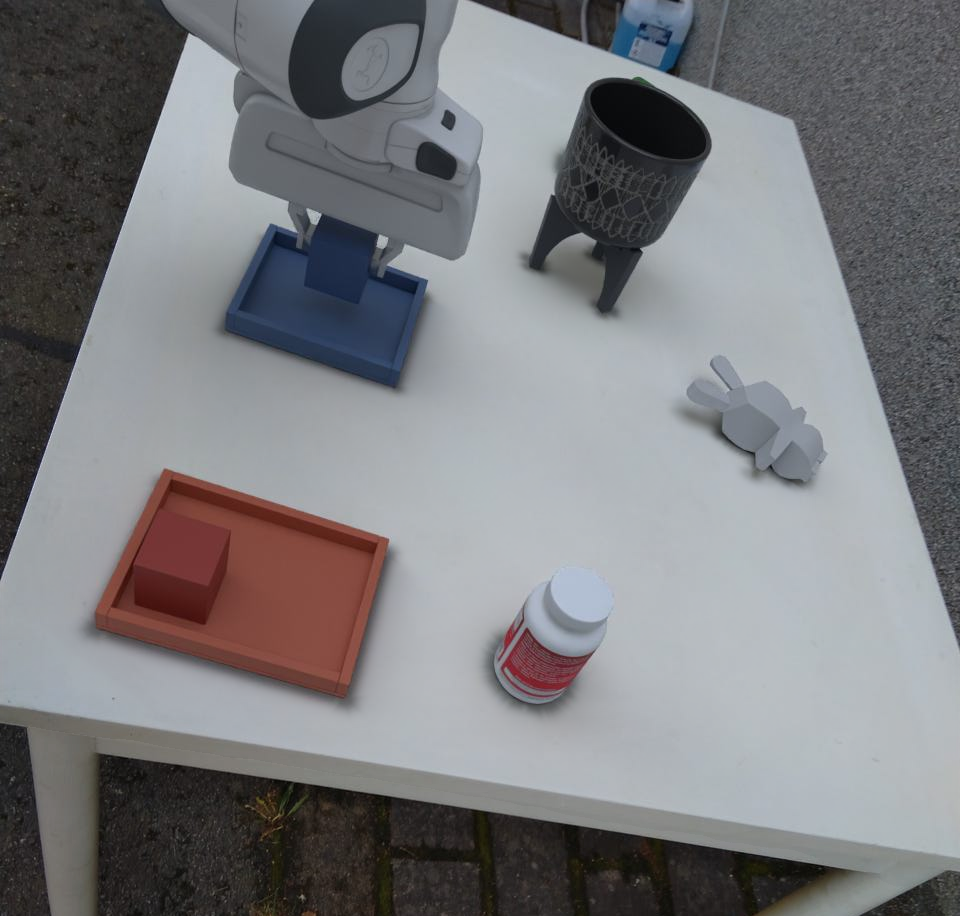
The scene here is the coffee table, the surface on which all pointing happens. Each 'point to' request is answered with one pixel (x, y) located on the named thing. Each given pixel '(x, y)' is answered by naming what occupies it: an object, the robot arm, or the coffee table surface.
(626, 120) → the planter
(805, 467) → the bunny figurine
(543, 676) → the pill bottle
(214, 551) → the red block
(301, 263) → the blue tray
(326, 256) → the blue block
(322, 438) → the coffee table surface
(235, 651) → the red tray
